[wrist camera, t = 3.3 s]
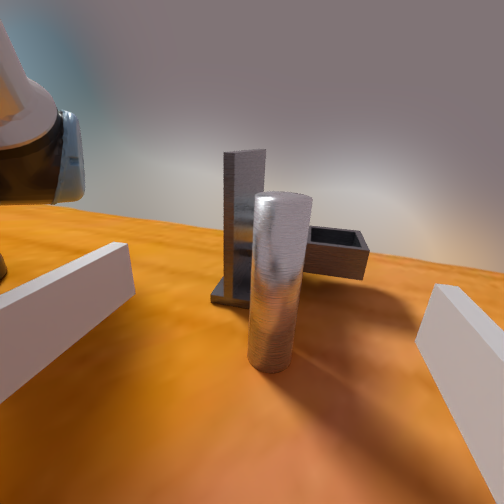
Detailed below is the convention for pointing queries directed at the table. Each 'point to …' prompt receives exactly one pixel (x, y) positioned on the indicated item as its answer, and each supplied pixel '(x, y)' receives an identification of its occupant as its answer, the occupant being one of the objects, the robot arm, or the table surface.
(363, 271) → the cup bracket
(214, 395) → the table surface
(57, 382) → the table surface
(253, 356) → the rail post
